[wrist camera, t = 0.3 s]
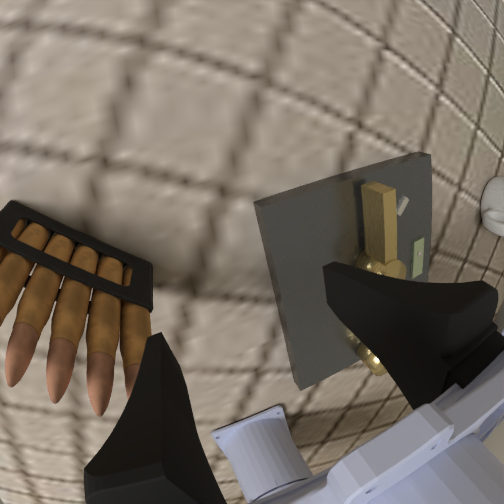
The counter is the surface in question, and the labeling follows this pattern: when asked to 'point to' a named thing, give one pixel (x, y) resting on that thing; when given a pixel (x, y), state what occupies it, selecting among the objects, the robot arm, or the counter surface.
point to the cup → (493, 206)
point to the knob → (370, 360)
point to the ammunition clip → (72, 302)
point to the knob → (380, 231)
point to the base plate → (336, 253)
